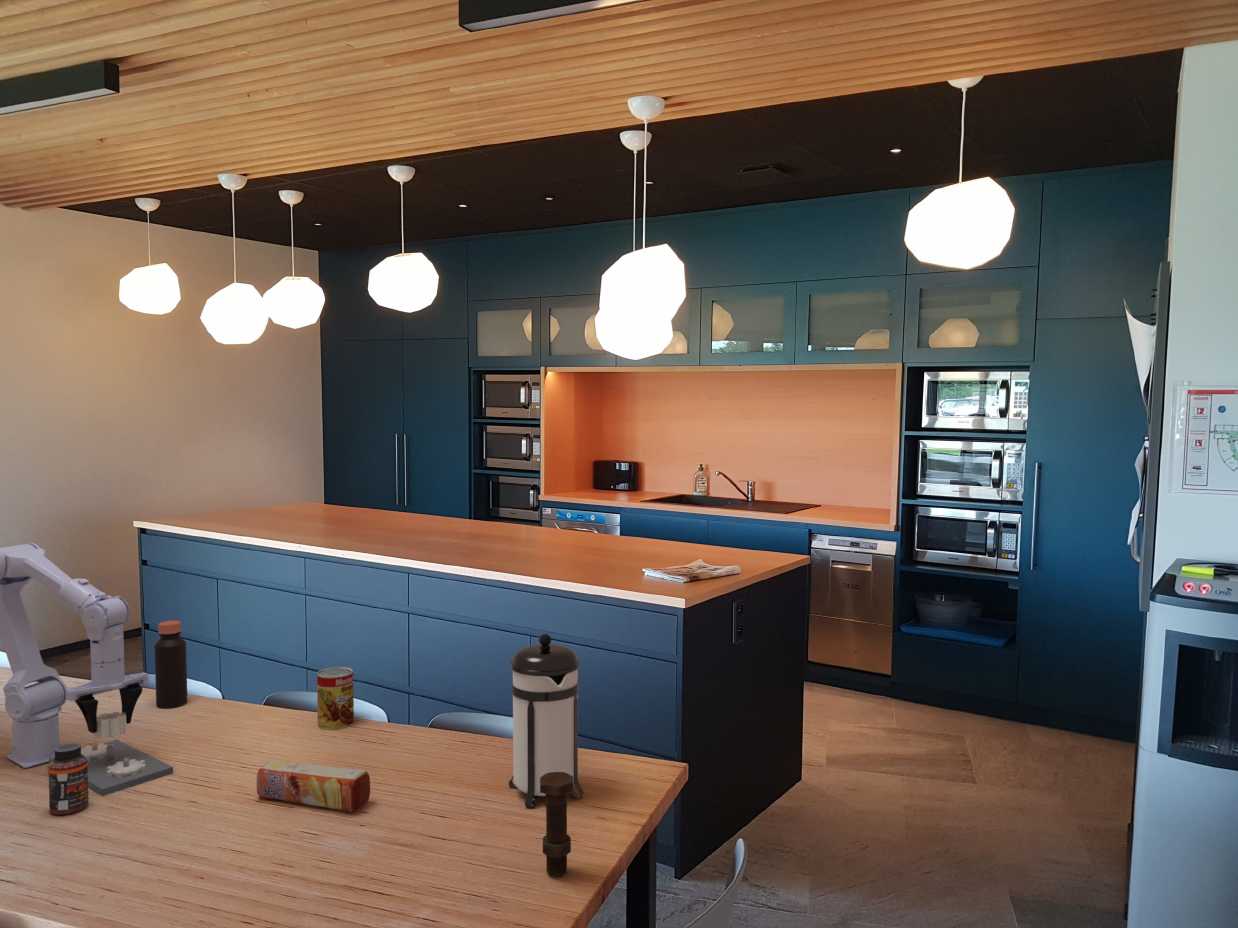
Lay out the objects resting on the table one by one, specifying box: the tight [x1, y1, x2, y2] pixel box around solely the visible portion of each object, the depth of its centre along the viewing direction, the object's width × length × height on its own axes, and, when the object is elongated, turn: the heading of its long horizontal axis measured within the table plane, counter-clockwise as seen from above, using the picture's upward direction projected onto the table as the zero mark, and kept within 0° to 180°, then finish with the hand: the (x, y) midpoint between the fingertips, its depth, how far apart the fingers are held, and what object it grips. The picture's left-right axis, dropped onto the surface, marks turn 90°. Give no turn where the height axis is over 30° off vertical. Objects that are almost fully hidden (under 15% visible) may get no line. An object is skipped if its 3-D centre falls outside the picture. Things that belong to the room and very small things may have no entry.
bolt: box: [540, 772, 574, 878], centre depth 136 cm, size 6×5×15 cm
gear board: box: [48, 739, 174, 796], centre depth 176 cm, size 24×13×5 cm, turn 53°
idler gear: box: [93, 711, 128, 740], centre depth 175 cm, size 6×6×4 cm
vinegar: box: [153, 620, 189, 709], centre depth 214 cm, size 7×7×20 cm
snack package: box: [256, 759, 371, 813], centre depth 161 cm, size 21×7×7 cm, turn 72°
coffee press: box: [508, 633, 585, 809], centre depth 165 cm, size 17×16×30 cm
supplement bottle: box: [48, 742, 89, 816], centre depth 158 cm, size 6×6×11 cm
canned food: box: [316, 666, 355, 731], centre depth 201 cm, size 8×8×12 cm
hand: (109, 726), depth 175 cm, fingers closed on idler gear, 6 cm apart
